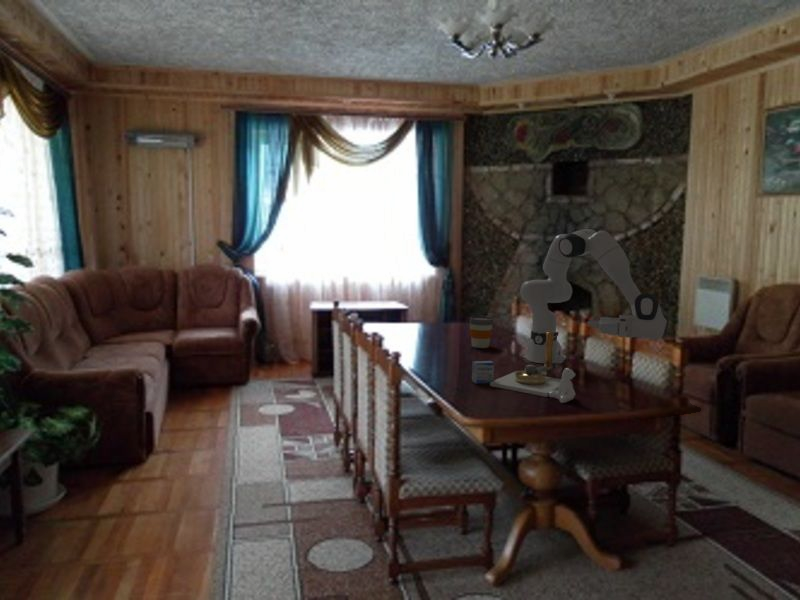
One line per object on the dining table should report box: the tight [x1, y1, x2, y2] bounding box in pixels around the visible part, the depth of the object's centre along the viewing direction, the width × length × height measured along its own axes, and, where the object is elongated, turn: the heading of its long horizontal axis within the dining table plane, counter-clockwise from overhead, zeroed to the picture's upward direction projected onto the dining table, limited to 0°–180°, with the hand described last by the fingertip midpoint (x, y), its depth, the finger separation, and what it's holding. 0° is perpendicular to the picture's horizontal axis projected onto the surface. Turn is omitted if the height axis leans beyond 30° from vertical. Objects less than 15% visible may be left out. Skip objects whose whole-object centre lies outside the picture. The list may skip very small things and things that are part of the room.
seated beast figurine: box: [548, 367, 577, 404], centre depth 229 cm, size 10×9×12 cm
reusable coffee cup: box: [469, 316, 494, 349], centre depth 323 cm, size 13×13×15 cm
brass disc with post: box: [514, 332, 554, 385], centre depth 250 cm, size 22×12×18 cm, turn 137°
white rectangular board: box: [489, 364, 562, 398], centre depth 248 cm, size 24×24×8 cm
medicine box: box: [471, 360, 495, 385], centre depth 250 cm, size 8×4×9 cm, turn 105°
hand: (587, 323), depth 251 cm, fingers closed
